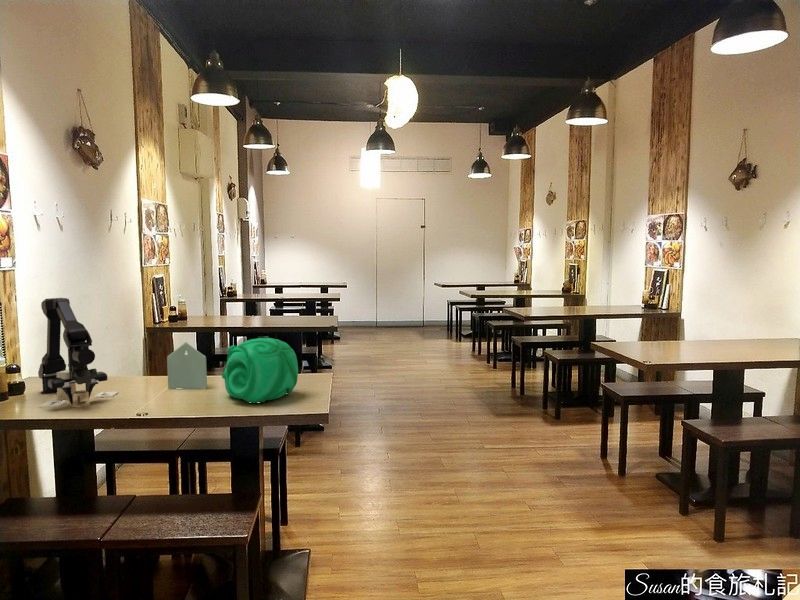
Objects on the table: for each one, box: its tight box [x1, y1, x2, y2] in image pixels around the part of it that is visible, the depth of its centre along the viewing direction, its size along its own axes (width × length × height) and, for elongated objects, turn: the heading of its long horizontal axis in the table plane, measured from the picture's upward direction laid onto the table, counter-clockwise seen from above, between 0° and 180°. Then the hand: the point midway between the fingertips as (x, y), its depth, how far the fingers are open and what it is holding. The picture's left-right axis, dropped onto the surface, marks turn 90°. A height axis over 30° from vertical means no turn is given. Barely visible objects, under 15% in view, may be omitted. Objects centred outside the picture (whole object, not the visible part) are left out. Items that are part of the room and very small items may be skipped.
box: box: [56, 369, 77, 401], centre depth 221 cm, size 5×4×11 cm
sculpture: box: [221, 337, 299, 403], centre depth 222 cm, size 27×28×30 cm
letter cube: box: [69, 389, 90, 408], centre depth 212 cm, size 5×5×5 cm
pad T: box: [38, 400, 69, 408], centre depth 213 cm, size 7×7×1 cm
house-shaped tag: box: [166, 342, 208, 390], centre depth 240 cm, size 16×8×20 cm, turn 88°
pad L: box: [93, 391, 120, 398], centre depth 227 cm, size 7×7×1 cm
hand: (79, 402), depth 212 cm, fingers closed on letter cube, 5 cm apart
